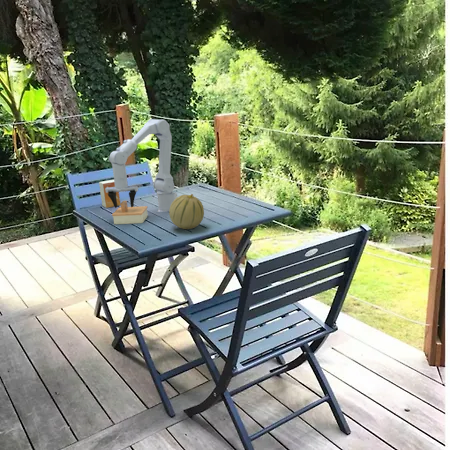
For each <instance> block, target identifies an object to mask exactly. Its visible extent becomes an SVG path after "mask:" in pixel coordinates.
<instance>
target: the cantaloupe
mask: <svg viewBox="0 0 450 450" xmlns="http://www.w3.org/2000/svg"><path fill="white" fill-rule="evenodd" d="M204 209H205V208H204V205H203V203H202V201H201V200H200V199H199V198H198V197H197V196H194V194H193V193H192V194H182V195H180V196H177V198H176V199H175V200H174V201H173V202H172V204H171V206H170V209H169V211H168V212H169V213H168V215H169V218H170V220H171V223H173V225H175V226H176V227H177V228H180V229H182V230H191V229H194V228H196V227H198V226H199V225H200V224H201V223H202V221H203V219H204V217H205V216H204V215H205V210H204Z"/></svg>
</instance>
